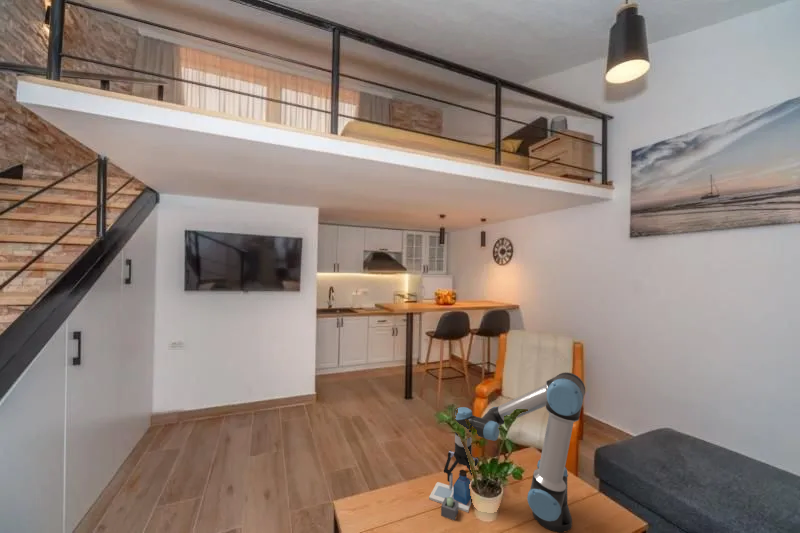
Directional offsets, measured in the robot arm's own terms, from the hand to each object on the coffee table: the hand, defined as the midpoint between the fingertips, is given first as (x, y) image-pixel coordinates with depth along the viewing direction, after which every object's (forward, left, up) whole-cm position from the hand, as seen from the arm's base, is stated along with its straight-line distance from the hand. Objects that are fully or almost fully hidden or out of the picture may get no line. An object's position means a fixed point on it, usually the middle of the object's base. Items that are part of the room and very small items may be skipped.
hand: (462, 492), depth 144 cm
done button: (+3, +10, -2) cm, 11 cm away
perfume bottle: (0, 0, -3) cm, 3 cm away
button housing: (+3, +10, -4) cm, 11 cm away
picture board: (+5, 0, -4) cm, 6 cm away
